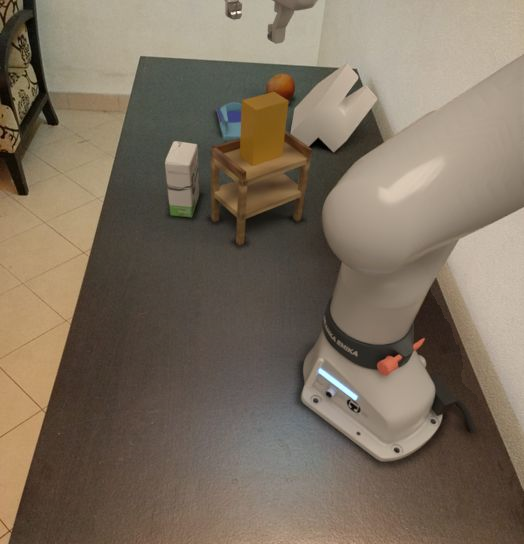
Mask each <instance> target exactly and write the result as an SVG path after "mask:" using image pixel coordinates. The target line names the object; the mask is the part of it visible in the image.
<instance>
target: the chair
mask: <svg viewBox="0 0 524 544" xmlns="http://www.w3.org/2000/svg"><path fill="white" fill-rule="evenodd" d="M220 107H221V108H220V111H221V114H222V118H223V120H222V122H220V123H219V128H220V132H221V136H222V142H223V143H225V142H228V141H232V140H235V139H238V138H240V135H241V122H237V123H228V118H227V112H230V111H239V112H241V109H242V102H241V103H240V102H236V101H234V102H228V103H226V104H224V105H222V106H220Z"/></svg>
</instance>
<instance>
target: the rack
mask: <svg viewBox="0 0 524 544" xmlns="http://www.w3.org/2000/svg"><path fill="white" fill-rule="evenodd" d="M209 148H210V149H209V150H210V151H209V153H210V214H211V215H210V217H211V218H210V219H211V221H212V222H213V223H216V222H219V221H220V205H222V206H223V207H224V208H226V210H228V212H230V213H231V214H232V215H233V216H234V217H235V218H236V233H235V235H236V237H235V243H236V244H237V245H238V246H241V245H244V244H245V239H246V238H245V237H246V220H247V219H249V218H251V217H255V216H256V215H259V214H262V213H265V212H266V211H267V212H268V211H269V210H272V209H275V208H277V207H279V206H282V205H284V204H287V203H289V202H292V201H295V203H294V210H293V215H292V216H293V218H292V219H293V220H294V221H296V222H299V221H302V216H303V209H304V203H305V196H306V191H307V186H308V179H309V172H310V167H311V161H312V154H313V148H311V147H310V146H307V145H306V144H304V143H303V142H301V141H300V140H298V139H297V138H295V137H294V136H293V135H291V134H290V132H289V131H287V130H285V137H284V146H283V155H282V156H281V157H278V158H275V159H273V160H270V161H267V162H264V163H261V164H258V165H255V166H251V165H250V164H249V163H248V162H246V161H245V160H244V159H243V158H241V157H240V138H238V139H233V140H227V142H225V143H224V142H222V143H218V144H216V145H212V146H210V147H209ZM297 168H300V171H299V177H298V183H297V182H296V181H294V180H293V179H292V178H290V177H289V176H288V175H287V174H285V173H286V172H289V171H292V170H295V169H297ZM220 170H221V171H222V172H223V173H224V174H225V175H227V176H228V177H229V178H230V179H231V180H233V181H231V182H227V183H225V184H221V185H220Z"/></svg>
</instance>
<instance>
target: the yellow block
mask: <svg viewBox="0 0 524 544" xmlns="http://www.w3.org/2000/svg"><path fill="white" fill-rule="evenodd" d="M288 102H289V101H288V100H286V99H285V98H283V97H282V96H280V95H279V94H277V93H275V92H271V93H267V92H266V93H264V94H260V95H256V96H253V97H249V98H245V99H241V104H242V109H241V135H240V157H241V158H243V159H244V160H245V161H246V162H248V163H249V164H250V165H251V166H255V165H258V164H261V163H264V162H267V161H270V160H273V159H275V158H278V157H281V156H282V155H283V146H284V137H285V131H286V127H287V117H288V110H289V104H288Z"/></svg>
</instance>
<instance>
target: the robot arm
mask: <svg viewBox="0 0 524 544" xmlns="http://www.w3.org/2000/svg"><path fill="white" fill-rule="evenodd" d="M318 1H319V0H272V2H274V5H273V7H274V8H273V11H274V12H275V13H276V14H275V17H274V20H273V22H272V23H268V24H267V34H266V35H267V36H266V38H267V40H269V41H270V42H271V43H274V44H276V45H277V44H282V43H284V41H285V40H286V39H285V38H286V30H287V26H288V25H289V23H290V21H291V19H292V18H293V15H294V14H295V11H296V12H297V11H298V12H299V11H305V10H309V9H313V8H314V7H315V6H316V4H317V2H318ZM224 2H225V7H224V8H225V9H224V10H225V12H224V13H225V17H227V18H229V19H231V20H233V21H236V20H241V18H242V16H243V12H242V10H243V2H241V1H240V0H224ZM523 208H524V53H523V54H521V55H520V56H518V57H516V58H515V59H513V60H511V61H510V62H509V63H507V64H506V65H504V66H502V67H500V68H499V69H498V70H496V71H494V72H493V73H491V74H490V75H489V76H487V77H485V78H484V79H482V80H481V81H480V82H478V83H476V84H474V85H473V86H472V87H470V88H468V89H467V90H465V91H463V92H462V93H461V94H459V95H458V96H456V97H454V98H452V100H450V101H448V102H447V103H445V104H443V105H441V106H440V107H439V108H436V109H433V110H432V111H429V112H427V113H425V114H423V115H421V116H420V117H419V118H417V119H416V120H414V121H412V122H411V123H410V124H409V125H407V126H406V127H404V128H403V129H402V130H400V131H399V132H397V133H396V134H395V133H394V135H392V136H391V137H390V138H388V139H386V140H385V141H383V142H381V143H380V144H379V145H378V146H376V147H374V149H372V150H369V152H367V153H366V154H365V155H363V156H361V157H360V158H358V159H357V160H356V161H355V162H354V163H353V164H352V165H351V166H350V167H349V168H348V169H347V171H345V173H344V174H343V175H342V177H341V178H340V179H339V180H338V181H337V182H336V184H335V185H334V186H333V188H332V189H331V190H330V192H329V193H328V194H327V196H326V198H325V201H324V203H323V206H322V212H321V225H322V231H323V234H324V237H325V240H326V242H327V244H328V246H329V249H330V250H331V251H332V253H333V254H334V255H335V256H336V258H337V259H338V260H339V261H340V262H341V264H340V267H339V271H338V275H337V278H336V282H335V286H334V289H333V293H332V295H331V296H330V298H329V299H328V301H327V304H326V308H325V311H324V314H323V318H322V323H321V324H322V325H321V326H322V329H321V332H320V334H319V336H318V338H317V340H316V341H315V343H314V345H313V347H312V348H311V349H310V350H309V352H308V353H307V354H306V357H305V359H304V361H303V366H302V374H303V381H304V383H303V387H302V390H301V394H300V401H301V403H302V404H303V405H304V406H306V407H307V408H309V410H311V411H313V412H314V414H316V415H317V416H319V417H320V418H322V419H323V420H324V421H325V422H326V423H328V424H330V425H331V426H332V427H333V428H335V429H336V430H337V431H339V433H342V434H343V435H344V436H345V437H347V438H348V439H349V440H351V441H352V442H353V443H355V444H356V445H357V446H358V447H359V448H361V449H362V450H363V451H365V452H366V453H367V454H369V455H370V456H372V457H373V458H374V459H375V460H377V461H379V462H383V463H384V462H394V461H399V460H401V459H402V460H403V459H404V458H406V457H408V456H410V455H412V454H414V453H415V452H416V451H418V450H419V449H421V448H422V447H423V446H424V445H426V444H427V443H428V442H429V441H430V440H431V439H432V437H434V435H435V434H436V432H437V431H438V429H439V427H440V425H441V423H442V421H443V415H444V414H447V413H450V412H451V411H452V409H453V408H454V406H456V407H457V408H458V409H459V410H460V412H461V413H462V416H463V417H464V420H465V423H466V427H467V430H468V432H470V433H472V432H475V431H476V427H475V423H474V421H473V418H472V415H471V413H470V411H469V410H468V407H467V406H466V405H465V403H464V402H463V401H462V400H461V399H459V397H457V396H456V395H454V393H453V391H452V390H451V389H450V388H449V387H448V385H447V383H445V381H444V380H443V378H442V377H441V376H440V375H439V374H438V372H435V373H433V374H429V372H428V370H427V361H426V359H425V357H424V356H422V355H420V354H418V351H417V350H419V348H421V346H422V345H423V343H424V341H425V340H426V338H425V337H423V338H421V339H419V340H418V341H417V342H415V325H414V321H415V319H416V317H417V315H418V313H419V311H420V309H421V307H422V305H423V303H424V301H425V298H426V296H427V295H428V292H429V290H430V289H431V287H432V285H433V284H434V282H435V280H436V278H437V276H438V275H439V273H440V272H441V270H442V269H443V267H444V265H445V264H446V263H447V261H448V259H449V257H450V256H451V254H452V252H453V251H454V249H455V247H456V245H458V243H459V241H460V240H461V239H462V238H466V237H467V236H469V235H471V234H474V233H475V232H478V231H479V230H482V229H484V228H486V227H488V226H489V225H492V224H494V223H495V222H498V221H500V220H502V219H504V218H505V217H508V216H510V215H512V214H513V213H515V212H518V211H519V210H521V209H523ZM396 451H397V452H396Z"/></svg>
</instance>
